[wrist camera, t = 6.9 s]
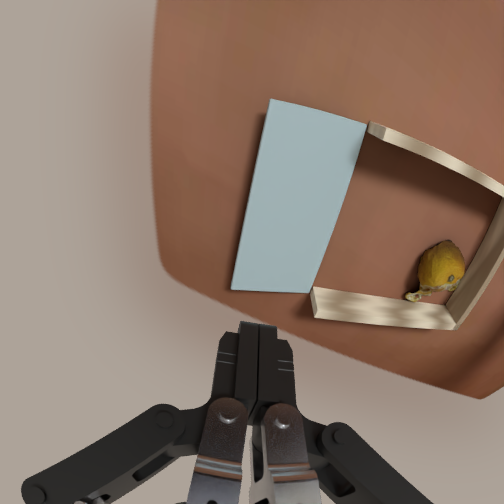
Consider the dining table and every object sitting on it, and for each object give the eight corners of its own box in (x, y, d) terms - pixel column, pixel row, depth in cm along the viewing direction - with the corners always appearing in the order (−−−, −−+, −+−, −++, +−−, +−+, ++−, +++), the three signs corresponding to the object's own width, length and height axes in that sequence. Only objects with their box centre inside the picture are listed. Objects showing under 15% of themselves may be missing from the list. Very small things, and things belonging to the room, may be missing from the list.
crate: (510, 190, 22) (529, 203, 19) (446, 311, 31) (456, 330, 28) (369, 120, 20) (386, 127, 17) (309, 293, 30) (314, 317, 27)
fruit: (403, 303, 31) (413, 325, 28) (405, 246, 27) (419, 267, 23) (458, 285, 29) (471, 304, 26) (466, 229, 25) (484, 247, 22)
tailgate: (367, 124, 20) (270, 98, 18) (308, 292, 29) (230, 289, 27) (364, 123, 20) (269, 98, 19) (307, 290, 29) (230, 286, 28)
